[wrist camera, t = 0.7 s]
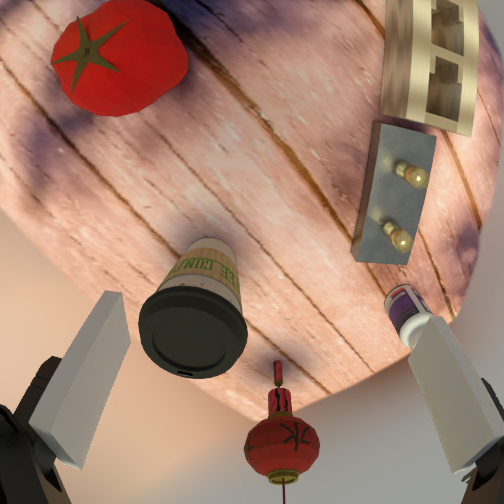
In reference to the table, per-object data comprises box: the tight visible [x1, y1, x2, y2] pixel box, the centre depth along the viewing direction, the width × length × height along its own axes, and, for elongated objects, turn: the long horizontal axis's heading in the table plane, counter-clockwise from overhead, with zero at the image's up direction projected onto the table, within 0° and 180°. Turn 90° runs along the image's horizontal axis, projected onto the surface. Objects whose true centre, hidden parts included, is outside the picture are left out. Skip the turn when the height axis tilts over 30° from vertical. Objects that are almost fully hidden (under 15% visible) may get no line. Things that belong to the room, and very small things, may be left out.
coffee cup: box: [138, 238, 248, 379], centre depth 32 cm, size 10×10×15 cm
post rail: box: [351, 121, 437, 265], centre depth 31 cm, size 16×7×6 cm, turn 176°
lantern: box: [244, 361, 320, 504], centre depth 33 cm, size 10×10×30 cm
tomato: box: [50, 0, 188, 117], centre depth 22 cm, size 12×12×13 cm
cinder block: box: [379, 0, 479, 137], centre depth 23 cm, size 16×8×7 cm, turn 176°
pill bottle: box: [385, 285, 434, 351], centre depth 37 cm, size 5×5×10 cm
